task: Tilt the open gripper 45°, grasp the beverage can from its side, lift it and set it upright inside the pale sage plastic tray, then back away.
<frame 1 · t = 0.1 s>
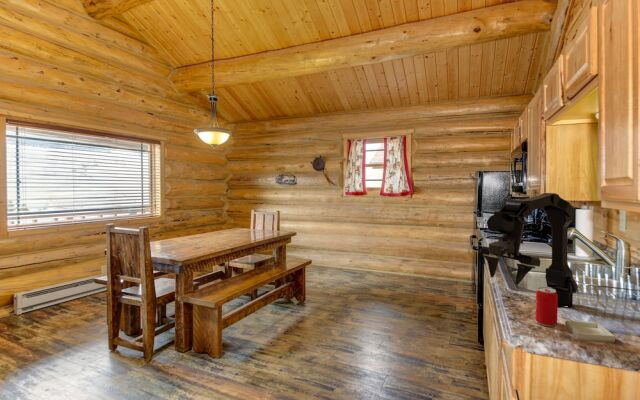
hand: (503, 280, 118), 15 cm above the worktop, tool pointing down, fingers open, 9 cm apart
tray: (588, 334, 111), on the worktop
beverage can: (546, 324, 119), on the worktop
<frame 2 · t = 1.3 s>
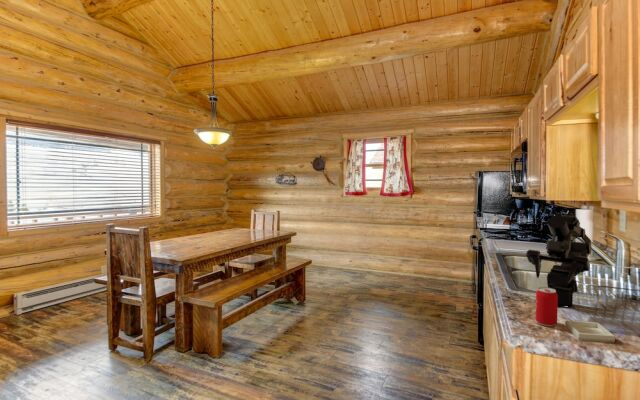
hand: (552, 280, 123), 13 cm above the worktop, tool tilted 45°, fingers open, 9 cm apart
nothing on the worktop moved.
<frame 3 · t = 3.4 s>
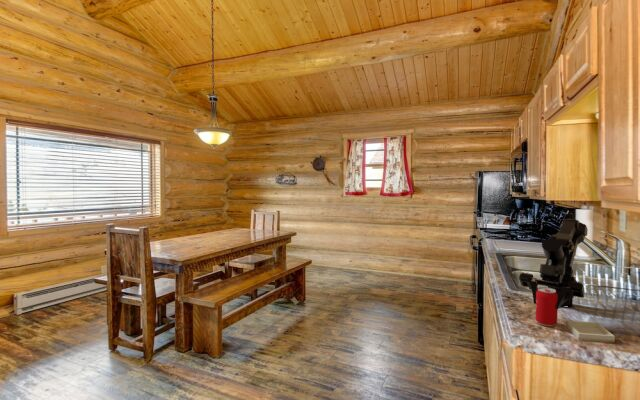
hand: (545, 306, 118), 7 cm above the worktop, tool tilted 45°, fingers closed on beverage can, 6 cm apart
beverage can: (546, 324, 119), on the worktop, touching gripper
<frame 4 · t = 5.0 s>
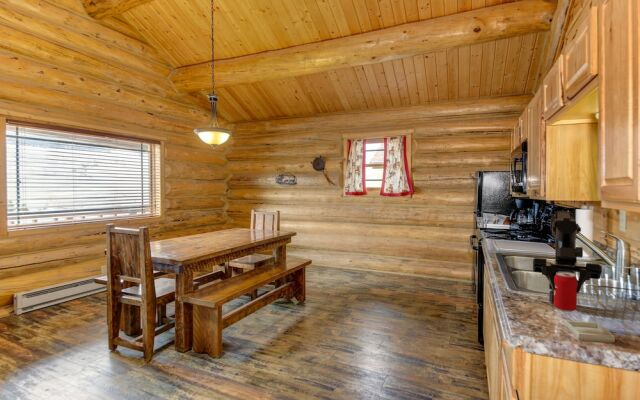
hand: (565, 290, 113), 13 cm above the worktop, tool tilted 45°, fingers closed on beverage can, 6 cm apart
beverage can: (564, 309, 115), point 7 cm above the worktop, touching gripper
when the fingers open (9 cm above the worktop, at t = 6.6 s): beverage can drops 1 cm, resting on tray.
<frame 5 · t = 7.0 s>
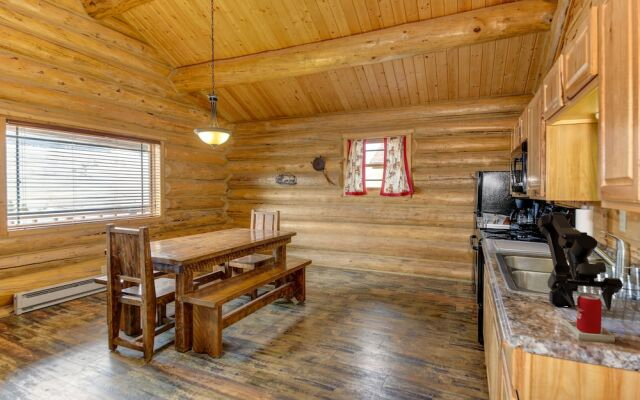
hand: (591, 308, 109), 9 cm above the worktop, tool tilted 45°, fingers open, 9 cm apart
beverage can: (588, 332, 111), resting on tray
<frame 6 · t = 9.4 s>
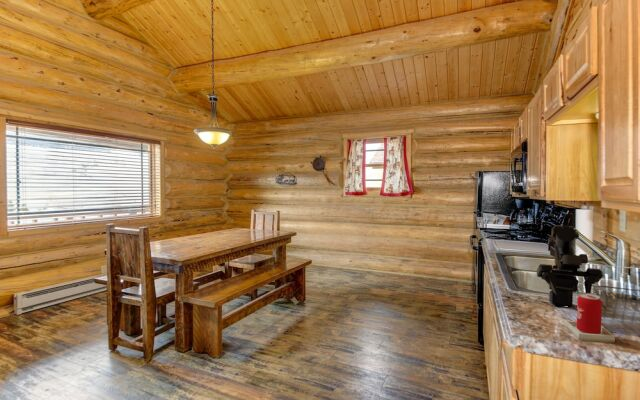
hand: (572, 295, 119), 9 cm above the worktop, tool tilted 40°, fingers open, 9 cm apart
nothing on the worktop moved.
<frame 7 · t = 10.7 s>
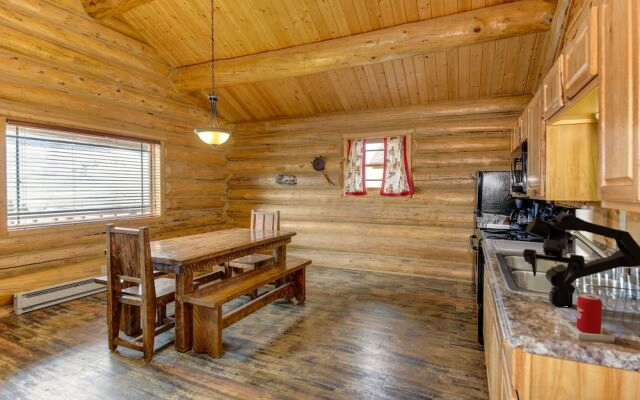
hand: (548, 278, 125), 14 cm above the worktop, tool tilted 45°, fingers open, 9 cm apart
nothing on the worktop moved.
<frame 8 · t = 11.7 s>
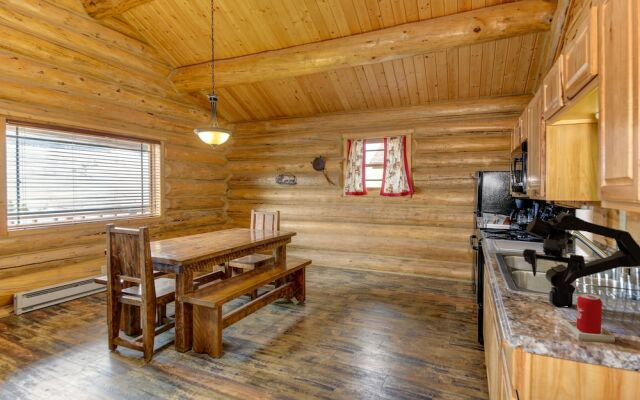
hand: (548, 278, 125), 14 cm above the worktop, tool tilted 45°, fingers open, 9 cm apart
nothing on the worktop moved.
at the end: beverage can 0.1 cm off-centre on the tray, point 0.4 cm above the tray's base; beverage can tilted 0°; the gripper is holding nothing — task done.
